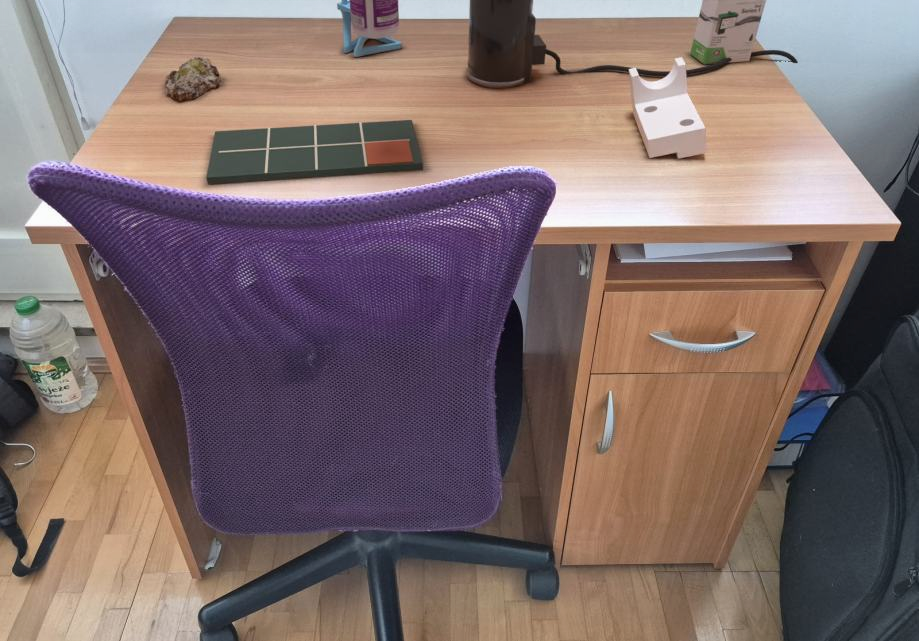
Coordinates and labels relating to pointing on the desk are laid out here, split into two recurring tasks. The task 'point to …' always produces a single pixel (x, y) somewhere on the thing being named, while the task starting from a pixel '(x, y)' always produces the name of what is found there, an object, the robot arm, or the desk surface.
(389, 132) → the grid board
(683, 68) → the bracket
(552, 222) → the desk surface
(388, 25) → the pill bottle
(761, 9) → the ink box
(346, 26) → the chair
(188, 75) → the mineral rock
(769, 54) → the robot arm
